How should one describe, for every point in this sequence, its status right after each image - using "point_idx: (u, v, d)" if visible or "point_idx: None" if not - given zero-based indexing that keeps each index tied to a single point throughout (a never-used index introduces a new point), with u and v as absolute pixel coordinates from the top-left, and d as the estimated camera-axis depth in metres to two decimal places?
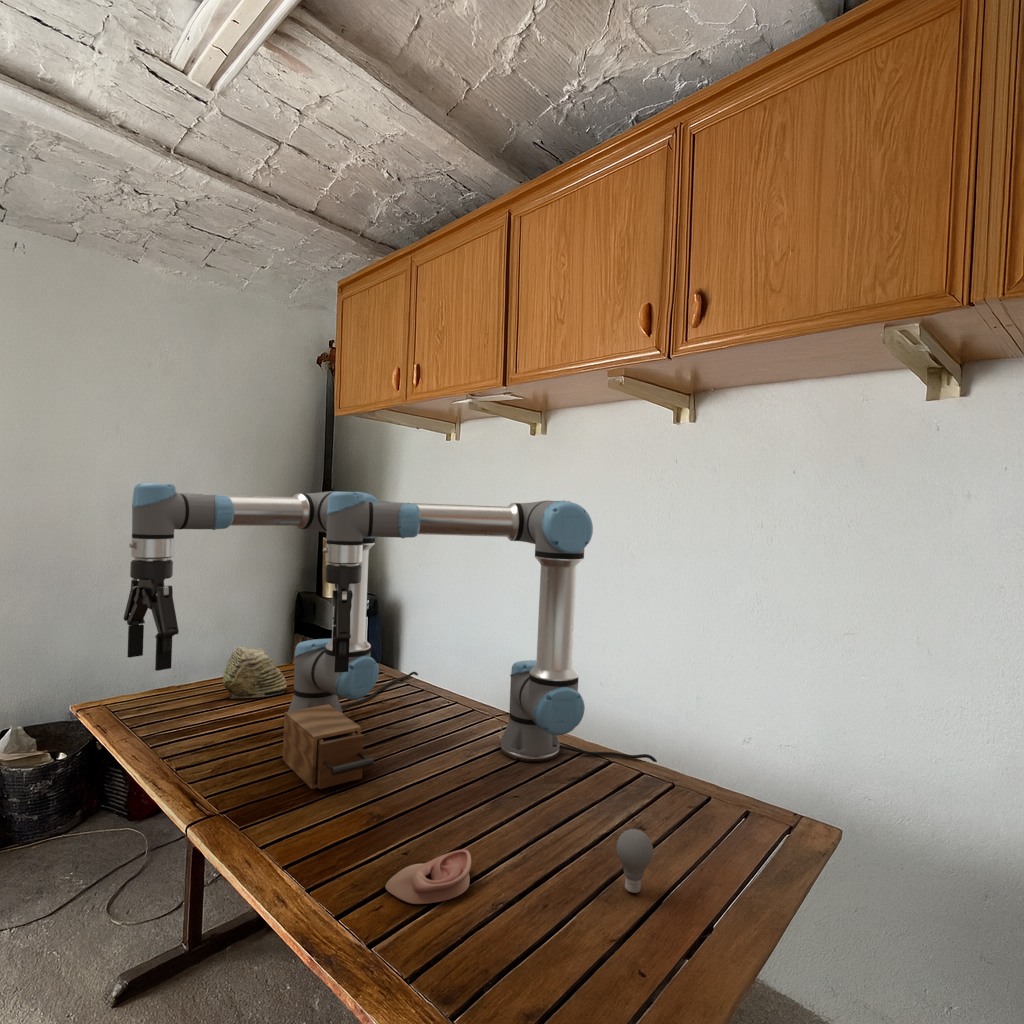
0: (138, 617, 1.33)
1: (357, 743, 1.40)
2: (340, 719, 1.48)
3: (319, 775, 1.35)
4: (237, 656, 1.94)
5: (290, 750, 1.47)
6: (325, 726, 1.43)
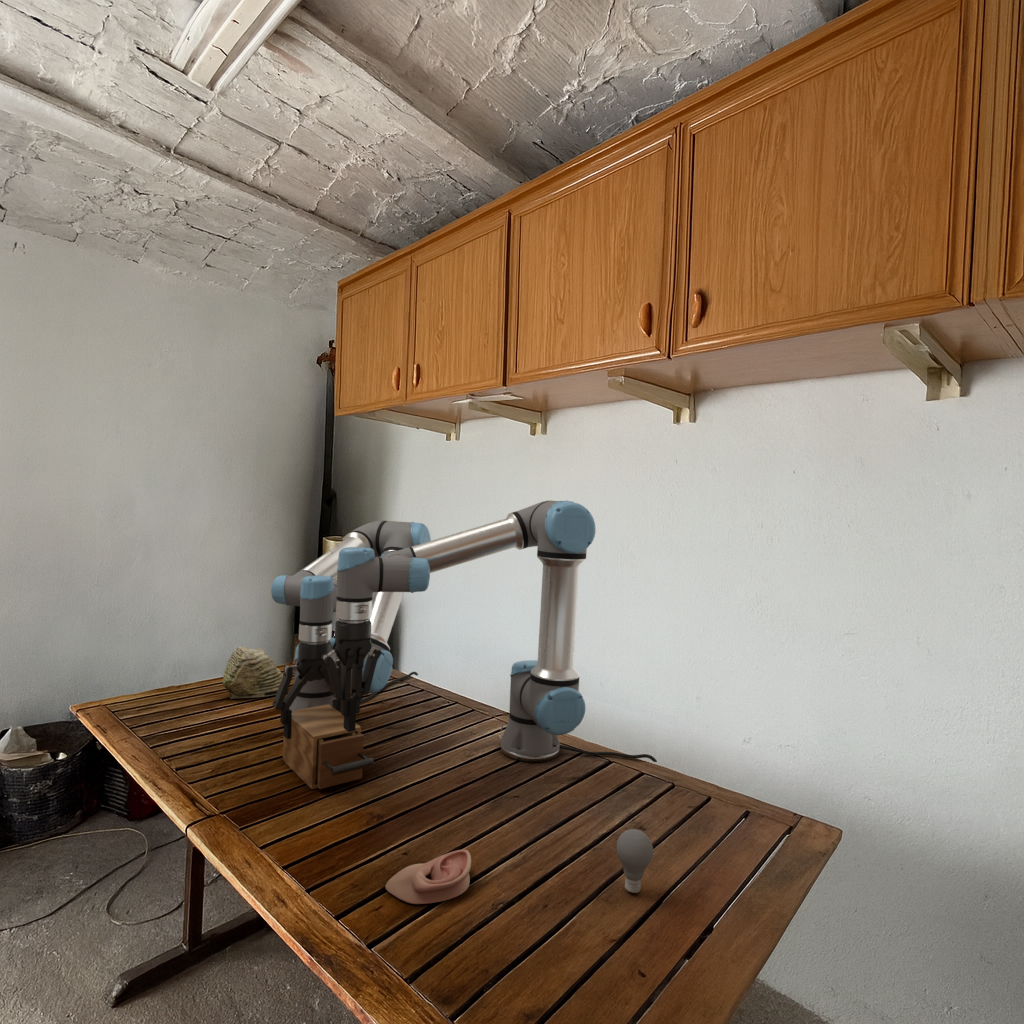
0: None
1: (357, 743, 1.40)
2: (340, 719, 1.48)
3: (319, 775, 1.35)
4: (237, 656, 1.94)
5: (290, 750, 1.47)
6: (325, 726, 1.43)
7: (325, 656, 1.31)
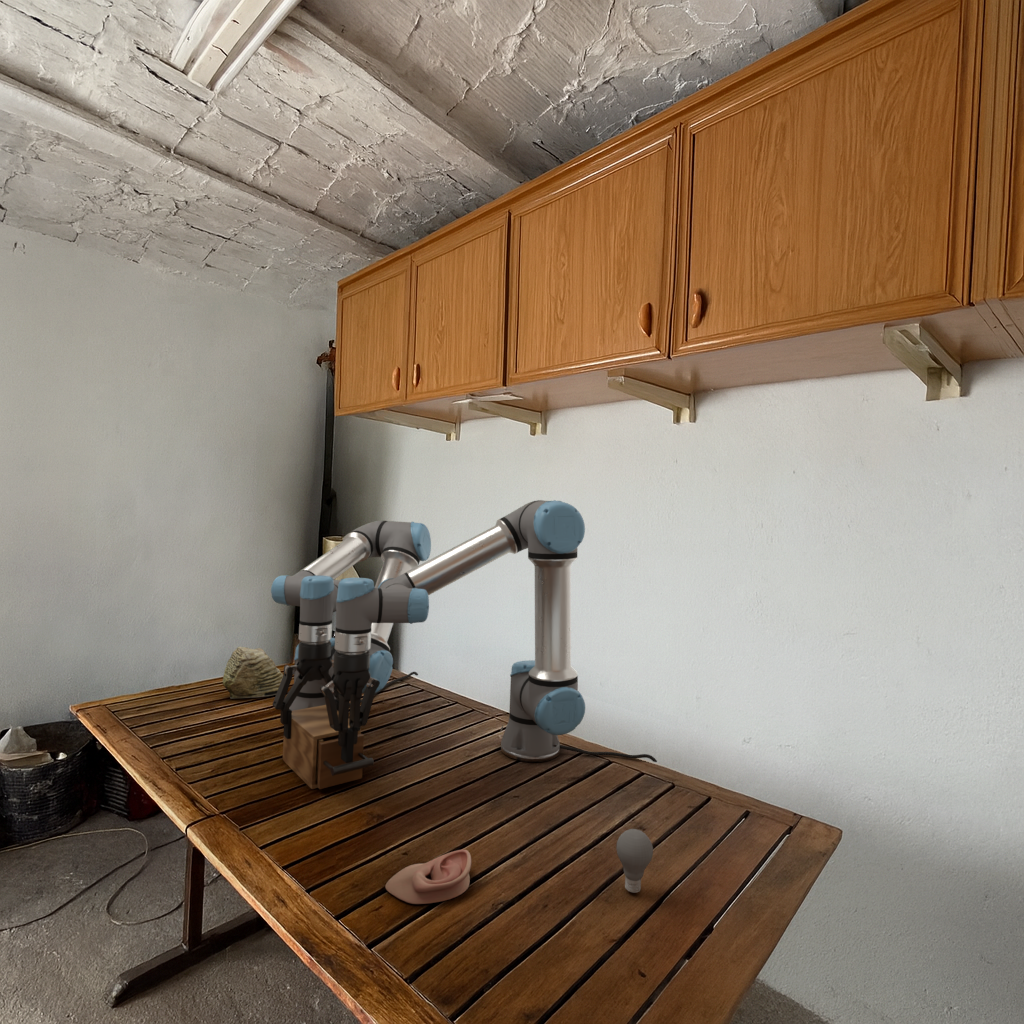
0: None
1: (357, 743, 1.40)
2: None
3: (319, 775, 1.35)
4: (237, 656, 1.94)
5: (290, 750, 1.47)
6: (325, 726, 1.43)
7: (323, 688, 1.31)
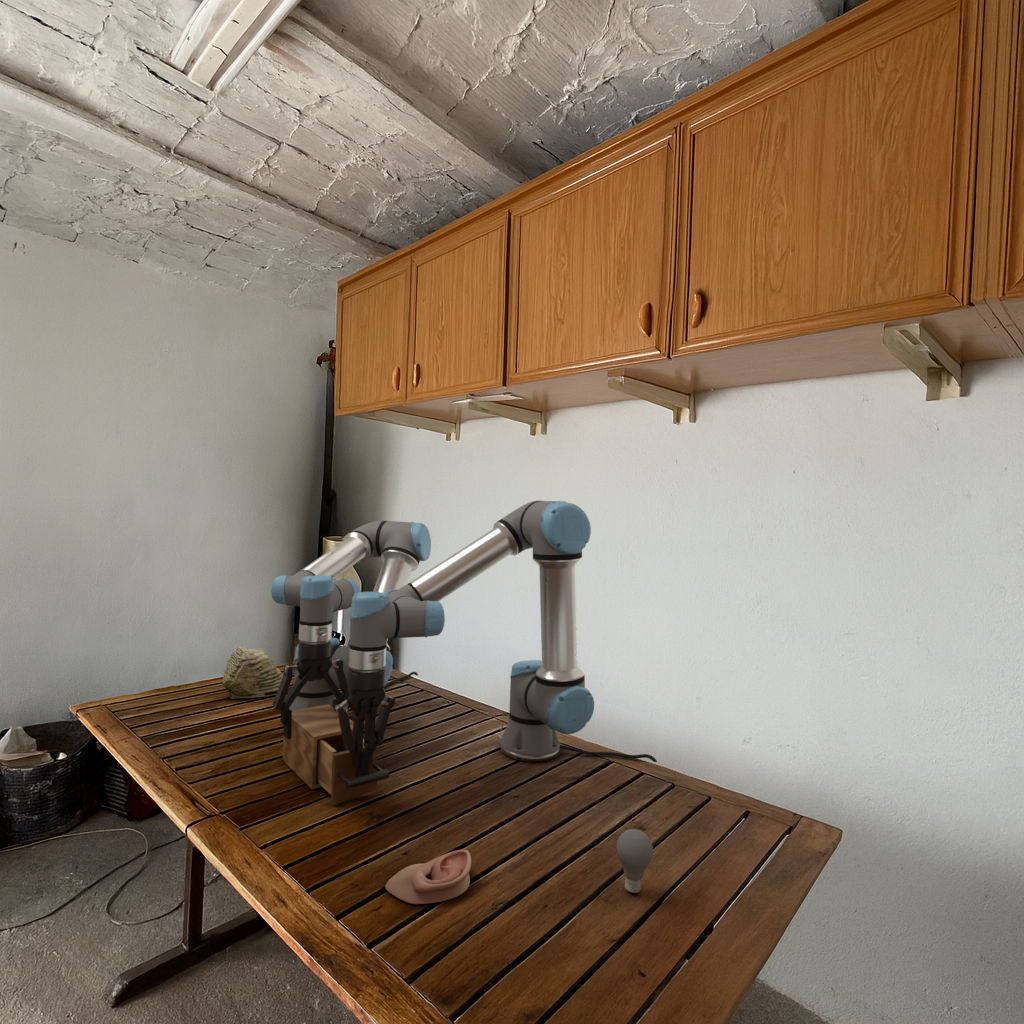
0: None
1: None
2: None
3: (332, 788, 1.30)
4: (237, 656, 1.94)
5: (290, 750, 1.47)
6: (325, 726, 1.43)
7: (337, 707, 1.26)
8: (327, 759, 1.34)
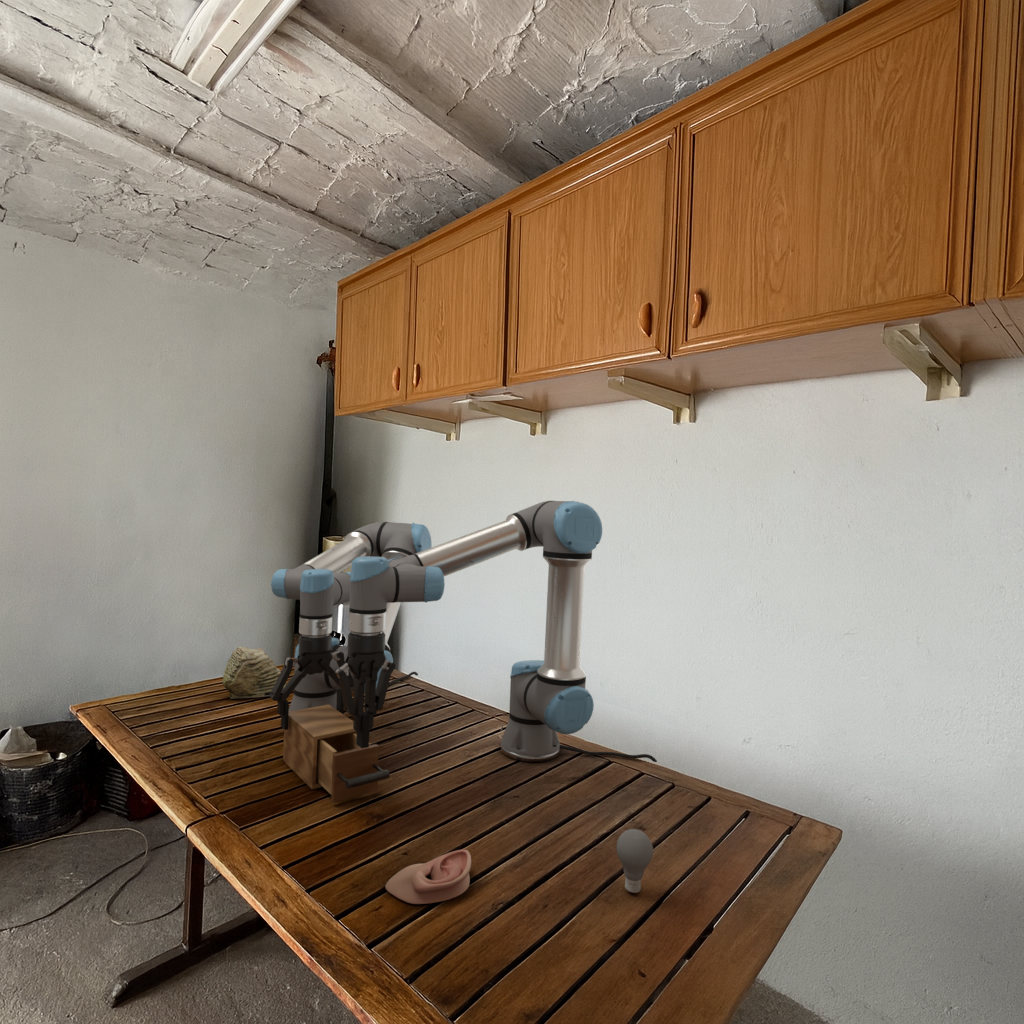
0: None
1: (372, 754, 1.35)
2: (340, 719, 1.48)
3: (333, 788, 1.30)
4: (237, 656, 1.94)
5: (290, 750, 1.47)
6: (325, 726, 1.43)
7: (338, 670, 1.27)
8: (327, 759, 1.34)
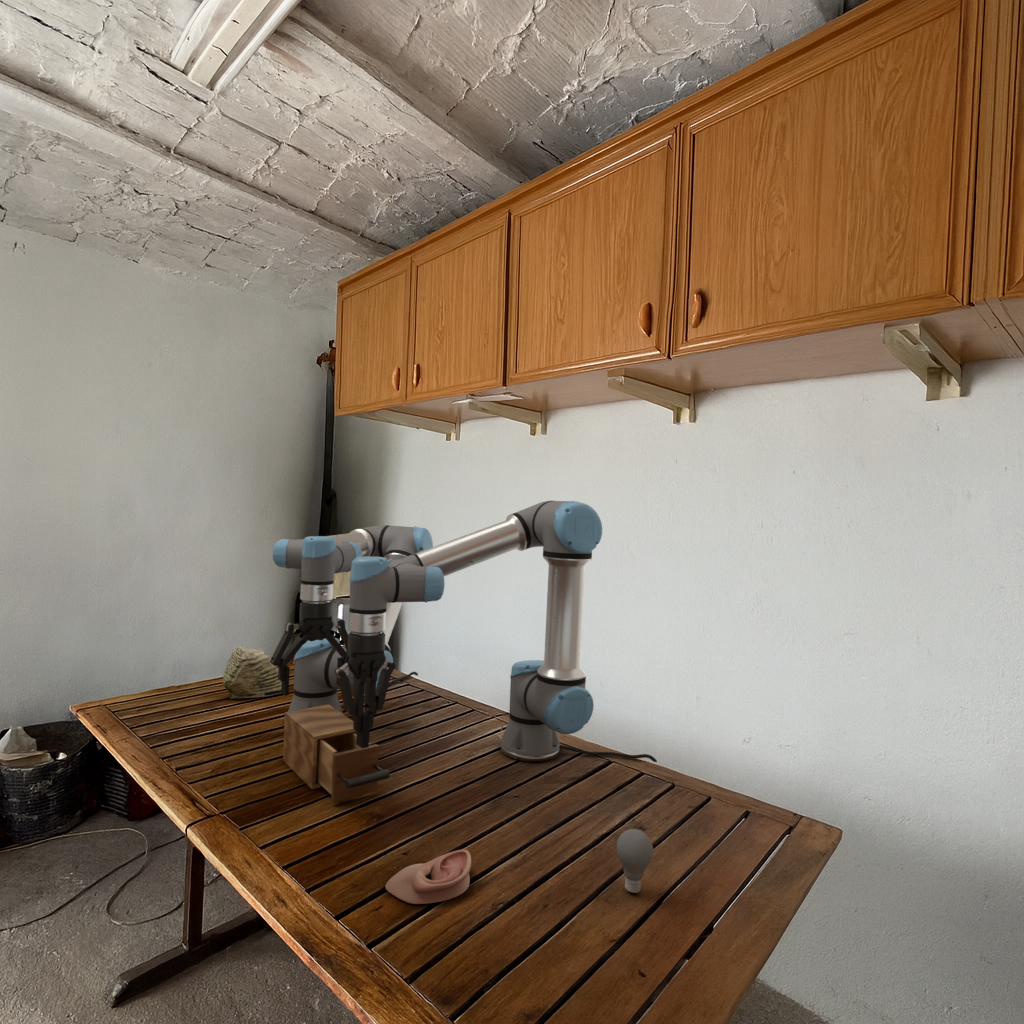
0: None
1: (372, 754, 1.35)
2: (340, 719, 1.48)
3: (333, 788, 1.30)
4: (237, 656, 1.94)
5: (290, 750, 1.47)
6: (325, 726, 1.43)
7: (338, 670, 1.27)
8: (327, 759, 1.34)
